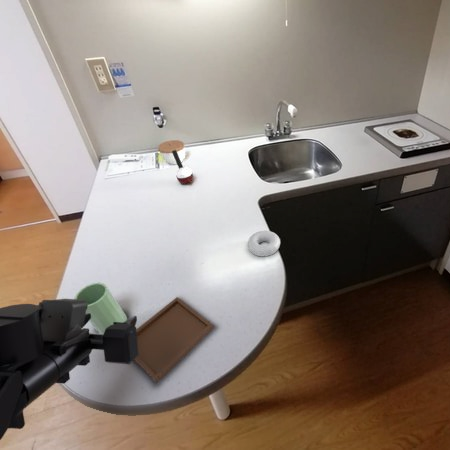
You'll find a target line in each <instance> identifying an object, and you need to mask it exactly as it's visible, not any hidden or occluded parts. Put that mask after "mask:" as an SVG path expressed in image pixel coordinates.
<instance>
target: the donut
mask: <svg viewBox="0 0 450 450" xmlns="http://www.w3.org/2000/svg"><path fill="white" fill-rule="evenodd" d="M262 242H268V243H267V244H260V243H262ZM280 246H281V238H280V237H279V235H278V234H277V233H275V232H273V231H271V230H260V231H259V230H258V231H256V232H254V233H253V234H252V235H251V236H250V237H249V238H248V241H247V248H248V250H249V252H250V253H252V254H253V255H254V256H257V257H268V256H271V255H273V254H275V253H277V251H278V250H279V248H280Z"/></svg>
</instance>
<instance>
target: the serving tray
mask: <svg viewBox="0 0 450 450" xmlns="http://www.w3.org/2000/svg"><path fill="white" fill-rule="evenodd" d="M213 330H214V324H213V323H211V322H210V321H209V320H207V319H205V317H203V316H202V315H200V313H198V312H197V311H196V310H194V309H193V308H192V307H190V305H188V304H187V303H185V302H184V301H183V300H181V299H180V298H179V297H175V298H174V299H173V300H171V301H170V302H168V304H166V305H165V306H164V307H163V308H162V309H160V310H159V311H157V312H156V313H155V314H153V316H151V317H150V318H149V319H148V320H146V321H145V322H144V323H142V324H141V325H140V326H139V327H138V328H136V332H137V344H138V356H137V357H136V358H135V359H134V360H133V361H135V362H136V363H137V364H138V365H139V366H140V367H141V368H142V369H143V370H144V372H146V373H147V374H148V376H149V377H150V378H151V379H152V380H153V381H154V382H155V383H156V384H158V383H159V381H161V380H162V379H163V378H164V377H165V376H166V375H167V374H168V373H169V372H170V371H171V370H172V369H173V368H174V367H175V366H177V365H178V364H179V362H181V360H183V359H184V358H185V357H186V356H187V355H188V354H189V353H190V352H191V351H192V350H193V349H194V348H196V346H197V345H198V344H200V342H202V341H203V340H204V339H205V338H206V337H207V336H208V335H210V333H212V331H213Z"/></svg>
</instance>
